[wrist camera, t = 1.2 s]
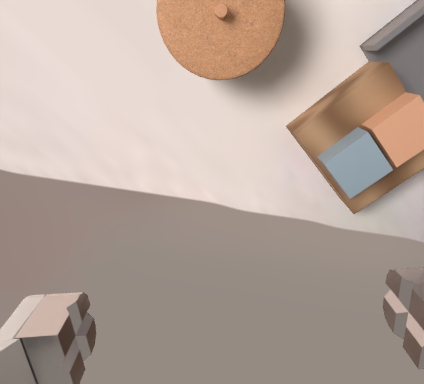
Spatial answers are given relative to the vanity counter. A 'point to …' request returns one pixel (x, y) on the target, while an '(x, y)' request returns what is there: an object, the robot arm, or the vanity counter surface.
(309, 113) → the cardboard box
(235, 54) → the lidded jar
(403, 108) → the tile
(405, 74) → the tray
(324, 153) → the tile
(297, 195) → the vanity counter surface
